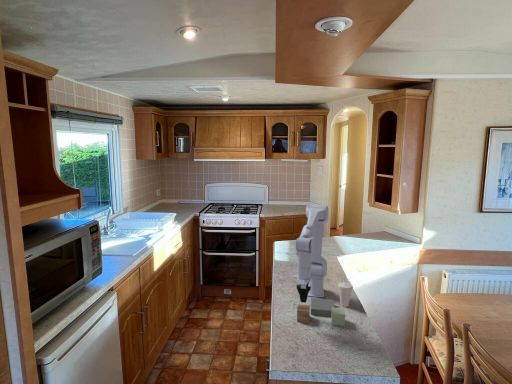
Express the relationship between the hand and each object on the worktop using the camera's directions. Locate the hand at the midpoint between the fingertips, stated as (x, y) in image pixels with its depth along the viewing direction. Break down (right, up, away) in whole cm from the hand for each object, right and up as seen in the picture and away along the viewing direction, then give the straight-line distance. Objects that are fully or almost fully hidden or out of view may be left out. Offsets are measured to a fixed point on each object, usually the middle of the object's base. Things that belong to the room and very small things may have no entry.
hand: (303, 297), depth 130 cm
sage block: (+14, -10, -1) cm, 17 cm away
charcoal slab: (+10, -9, +9) cm, 16 cm away
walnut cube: (0, -9, +1) cm, 10 cm away
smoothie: (+20, -8, +13) cm, 25 cm away
